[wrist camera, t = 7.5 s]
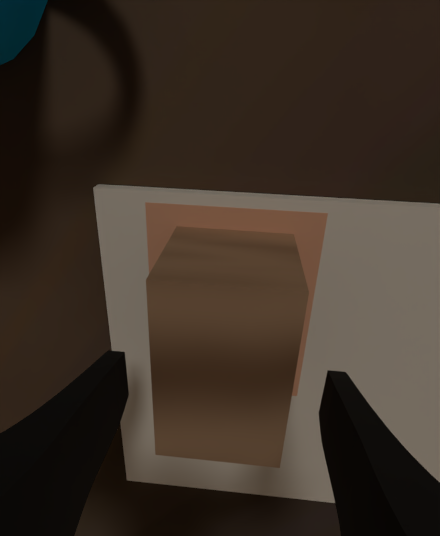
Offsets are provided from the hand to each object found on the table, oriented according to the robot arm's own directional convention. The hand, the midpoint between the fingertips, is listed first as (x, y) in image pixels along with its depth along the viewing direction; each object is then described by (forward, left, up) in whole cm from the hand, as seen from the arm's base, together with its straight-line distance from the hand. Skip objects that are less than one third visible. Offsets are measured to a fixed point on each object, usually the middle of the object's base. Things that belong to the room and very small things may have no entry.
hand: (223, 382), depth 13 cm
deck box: (0, 0, -5) cm, 5 cm away
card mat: (-4, +4, -6) cm, 8 cm away
